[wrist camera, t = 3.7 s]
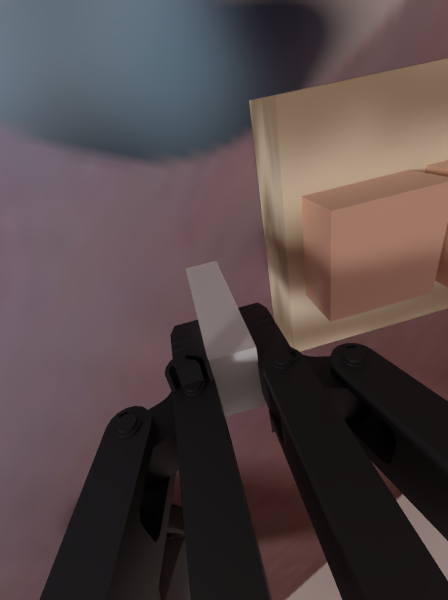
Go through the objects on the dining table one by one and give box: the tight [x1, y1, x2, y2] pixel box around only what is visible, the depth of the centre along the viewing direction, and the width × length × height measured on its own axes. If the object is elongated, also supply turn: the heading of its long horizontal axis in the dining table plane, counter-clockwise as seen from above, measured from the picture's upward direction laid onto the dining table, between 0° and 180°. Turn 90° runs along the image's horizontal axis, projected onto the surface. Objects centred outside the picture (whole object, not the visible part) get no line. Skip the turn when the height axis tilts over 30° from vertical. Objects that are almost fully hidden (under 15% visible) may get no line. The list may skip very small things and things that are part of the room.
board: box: [249, 58, 448, 352], centre depth 19 cm, size 15×16×4 cm
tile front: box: [302, 170, 448, 322], centre depth 16 cm, size 6×6×3 cm
